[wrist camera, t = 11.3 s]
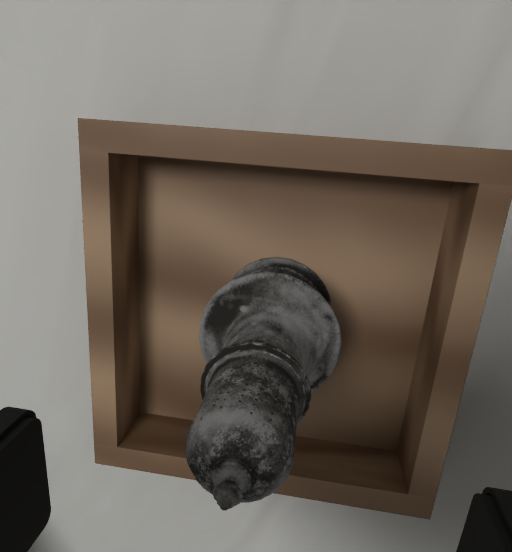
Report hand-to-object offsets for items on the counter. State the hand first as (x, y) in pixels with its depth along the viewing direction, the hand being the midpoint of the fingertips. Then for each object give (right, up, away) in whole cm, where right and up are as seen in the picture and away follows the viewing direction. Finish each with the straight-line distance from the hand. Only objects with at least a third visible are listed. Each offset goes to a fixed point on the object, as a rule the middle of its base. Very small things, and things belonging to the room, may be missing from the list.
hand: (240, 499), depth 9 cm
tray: (+1, +3, +12) cm, 13 cm away
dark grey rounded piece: (+1, +3, +12) cm, 12 cm away
